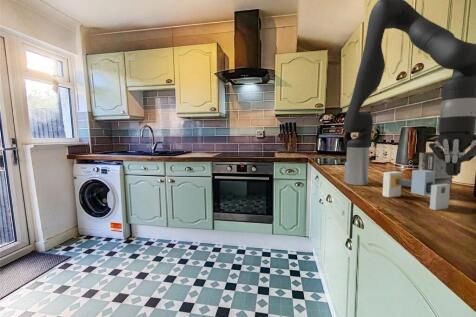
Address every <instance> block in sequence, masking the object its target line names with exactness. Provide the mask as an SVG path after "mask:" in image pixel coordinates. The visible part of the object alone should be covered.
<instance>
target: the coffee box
mask: <svg viewBox="0 0 476 317" xmlns="http://www.w3.org/2000/svg"><path fill="white" fill-rule="evenodd" d="M418 156H419V158H418V170H429V171H435V184H434V185H436V184H450V192H449V200H450V199H451V198H452V196H451V195H452V182H453V176H451V175H447V173H446V162H445V161H443V160H440V159H439V158H438V157H437V156H436V155H435V153H434V152H433V151H431V152H430V151H425V152H419V155H418ZM425 196H426V197H428V198H430V197H431V195H425Z"/></svg>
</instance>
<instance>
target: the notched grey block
mask: <svg viewBox="0 0 476 317" xmlns="http://www.w3.org/2000/svg"><path fill="white" fill-rule="evenodd" d="M411 181H412V184H411V187H410V193H411V194H415V195H419V196H424V197H425V196H426V195H431V191H428V190H426V184H432V185H434V184H435V171H429V170H419V169H413V170H412V172H411Z"/></svg>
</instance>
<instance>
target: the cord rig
mask: <svg viewBox="0 0 476 317" xmlns="http://www.w3.org/2000/svg"><path fill="white" fill-rule="evenodd" d="M411 184H412V180H409V179H404V178H403V172H402V171H396V170H395V171H384V172H383V179H382V196H383V197H386V198H396V197H401V195H402V191H401V190H402V186H404V187H409V188H411ZM426 190H428V191H431V197H429V199H430V200H429V209H430V210H434V211H438V210H444V209H448V208H449V205H450V203H449V202H450V199H449V192H450V184H436V185H432V184H426Z"/></svg>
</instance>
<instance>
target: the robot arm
mask: <svg viewBox="0 0 476 317" xmlns="http://www.w3.org/2000/svg"><path fill="white" fill-rule="evenodd" d="M370 11H371V12H370V14H369V17H368V22H367V23H368V24H367V29H366V36H365V41H364V47H363V51H362V56H361V60H360V63H359V68H358V71H357V73H356V74H357V75H356V77H355V78H356V79H355V82H354V83H355V84H354V88H353V92H352V96H351V97H350V98H351V99H350V102H349V104H348V107H347V111H346V112H345V116H344V120H343V130H344V132H346V133H349V134H351V133H353V134H355V133H358V135H357V136H356V137H355V138H353V139H350V140H348V141H347V143H346V161H345V162H344V175H343V178H344V179H343V180H344V181H343V182H344V183H346V184H347V185H351V186H367V185H368V183H369V182H368V181H369V163H370V144H371V141H372V132H373V122H374V120H373V116H372V114H371V113H370V112H366V111H365V112H363V111H362V112H361V108H362V106H363V105H364V103H365V101H367V100H368V98H369V97H370V96H371V95H372V94H374V92H375V91H376V89H378V87H379V86H380V84H381V81H382V80H383V76H384V73H385V69H386V62H385V56H384V52H383V48H382V42H383V40H384V33H385V31H386V30H387V29H388V30H389V29H395V30H399V31H402V32H404V33H406V34H407V35H408V38H409V40H410V42H411V43H412V45H414V46H415V47H416V49H417V48H418V49H419V50H420V51H422V52H424V53H425V54H427V55H429V57H430V58H431V59H432V60H433V61H434V62H435V63H436V64H437V65H439V66H440V67H442V68H444V69H447V70H452V74H451V78H450V79H449V80H447V81H446V82H444V83H443V86H442V91H441V92H442V93H441V94H442V95H441V105H440V108H439V123H438V133H439V134H438V136H437V138H436V140H435V141H434V142H430V143H428V147H429V149H430V150H431V152H434V153H435V155H436V156H437V157H438V158H439V159H440V160H443V161H445V162H446V173H447V175H451V176H452V177H457V176H458V175H460V174H461V168H462V163H465V162H470V161H471V160H472V159H474V158H475V157H476V136H475V131H476V43H472V42H468V41H464V40H462V39H459V38H457V37H456V36H455V35H454V33H453V32H452V31H450V30H448V29H447V28H444V27H442V26H441V25H439V24H437V23H435V22H433V21H432V20H429V19H428V18H426V17H425V16H423V15H422V14H421V13H420V12H418V11H417V10H416V9H415V8H414V7H413V6H412V5H411V4H410V3H409V2H408V1H406V0H377V1H376V2H375V4H374V5H373V7H372V9H371V10H370ZM467 149H469V150H468V151H467Z"/></svg>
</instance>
